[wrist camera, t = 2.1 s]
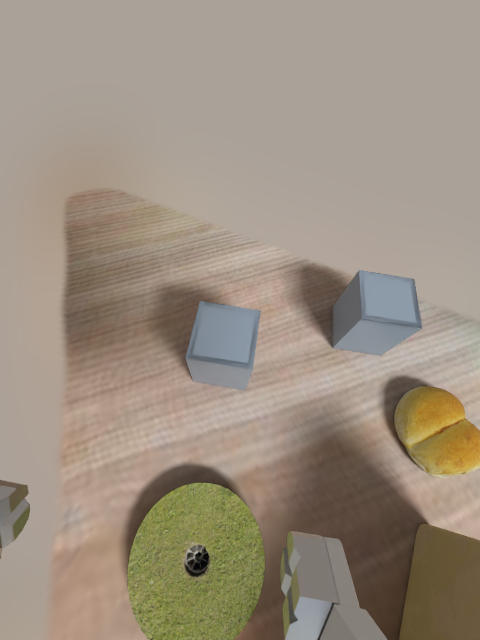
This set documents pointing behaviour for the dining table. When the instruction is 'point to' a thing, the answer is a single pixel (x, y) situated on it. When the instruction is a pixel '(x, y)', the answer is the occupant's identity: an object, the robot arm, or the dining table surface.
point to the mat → (196, 565)
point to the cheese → (442, 587)
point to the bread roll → (437, 432)
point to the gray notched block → (375, 313)
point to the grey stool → (223, 345)
